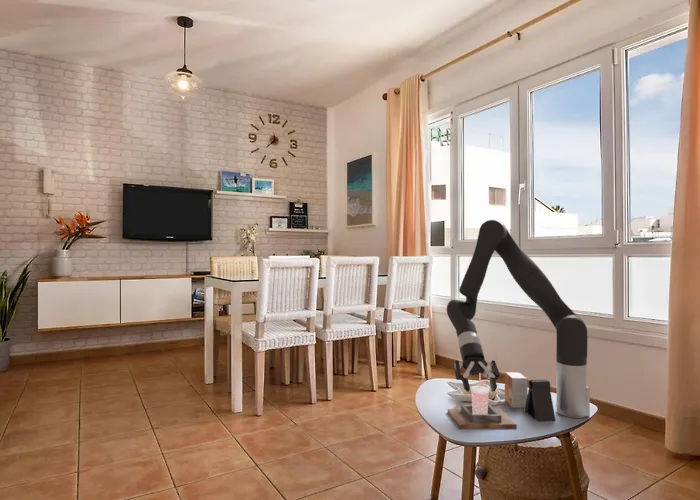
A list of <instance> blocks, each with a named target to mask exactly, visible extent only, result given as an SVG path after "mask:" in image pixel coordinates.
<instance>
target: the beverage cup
mask: <svg viewBox="0 0 700 500" xmlns="http://www.w3.org/2000/svg"><path fill="white" fill-rule="evenodd" d="M481 380H482V374H481V373H479V375H478V385H472V386H470V390H469V391H470V392H471V405H472V412H473V415H487V413H488V405H489V398H490V397H489V394H490V389H491V388H489V387H487V386H484V385H482V383H481V382H482V381H481Z"/></svg>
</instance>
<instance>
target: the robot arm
mask: <svg viewBox="0 0 700 500" xmlns="http://www.w3.org/2000/svg"><path fill="white" fill-rule="evenodd" d="M494 252H496V254H497V255H499V257H500V258H501V259H502V261H503V262H504V264H505V266H506V268H507V269H508V271H509V273H510V275H511V276H512V278H513V280H514V281H515V283H517V285H518V286H519V288H520V289H522V291H523V293H524V294H525V295H527V297H528V298H529V299H530V300H531V301H533V303H535V304H536V305H537V306H538V307H539V308H540V309H541V310H542V311H543V313H544V314H545V315H546V316H547V317H548V319H549V320H550V322H551V324H552V325H553V326H554V328H555V330H556V353H555V357H556V359H555V360H556V361H555V362H556V365H555V366H556V376H555V377H556V379H555V380H556V405H555V406H556V412H557V414H559V415H561V416H565V417H568V418H573V419H581V418H582V419H584V418H586V417H590V415H591V413H590V411H591V410H590V408H591V405H590V402H591V401H590V394H591V393H590V387H589V386H587V385H588V384H587V382H588V379H587V377H588V372H587V370H588V369H587V368H588V367H587V366H588V365H587V364H588V362H587V361H588V360H587V359H588V328H587V326H586V323H585V322H584V321H583V319H582V318H581V317H580V316H579V315H577V314H576V313H575V312H574V311H573V310H572V309H571V308H570V307H569V306H568V305H567V304H566V303H565V301H564V300H563V299H562V298H561V297H560V295H559V293H558V292H557V290H556V289H555V287H554V285H553V284H552V282H551V281H550V280H549V278H548V276H547V275H545V273H544V272H543V271H542V270H541V268H540V267H539V266H538V264H536V263H535V261H534V260H533V259H532V258H531V257H530V256H529V255H528V254H527V253H526V252H525V251H524V250H523V249H522V248H520V246H519V245H518V244H517V243H516V241H515V239H514V238H513V237H512V235H511V233H510V232H509V230H508V229H507V227H506V225H505V224H504V223H503V222H501V221H499V220H496V219H489V220H486V221H484V222H483V223H482V224H481V225H480V227H479V229H478V236H477V240H476V244H475V248H474V252H473V255H472V257H471V260H470V263H469V265H468V267H467V270H466V272H465V274H464V277H463V278H462V282H461V285H460V286H459V293H460V294H461V295H462V296H464V297H465V301H463V300H459V299H451V300H450V301H449V302H448V303H447V306H446V313H447V316H448V318H449V320H450V322H451V324H452V326H453V327H454V329H455V332H456V336H457V343H458V344H457V345H458V348H459V353H460V357H461V360H462V361H459V360H458V359H457V360H455V361H454V365H453V368H454V369H453V370H454V375H455V379H456V380H457V381H459V380H460V381H461V382H462V386H463V390H465V392H468V393H469V392H470V391H471V390H470V387H471V386H470V382H469V379H468V377H469V375H471V376H475V375H477V376H479V373H481V376H483V377H484V378H486V379H488V380H489V384H490V389H491V392H496V391H497V389H498V385H497V380H499V378H500V375H501V374H500V371H499V369H498V365H497V363H496V361H495V360H493V359H492V360H491V361H486V359H485V354H484V352H483V347H482V343H481V340H480V337H479V335H478V332H477V327H476V325H475V323H474V321H472V320H474V317H475V316H476V312H477V303H478V298H479V293H480V290H481V288H482V286H483V284H484V281H485V278H486V275H487V270H488V266H489V263H490V260H491V258H492V256H493V254H494ZM461 368H463V369H464V370H465V371H464V373H463V374H462V373H461Z"/></svg>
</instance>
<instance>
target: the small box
mask: <svg viewBox="0 0 700 500" xmlns="http://www.w3.org/2000/svg"><path fill="white" fill-rule="evenodd" d="M528 390H529V379H528V377H526V376H524V375H523V374H522V373H520V372H512V371H511V372H510V371H509V372H508V371H507V372H506V371H504V401H505V402H506V403H508V404H509V406H510V407H511V408H515V409H516V408H519V409H520V408H521V409H525V405H526V400H527V395H528Z"/></svg>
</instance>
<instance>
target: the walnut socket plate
mask: <svg viewBox="0 0 700 500" xmlns="http://www.w3.org/2000/svg"><path fill="white" fill-rule="evenodd" d="M447 414H448V415H449V417H450V418H451V419H452V421H453V422H454V423H455V425H456V427H458V429H459V430H461V429H462V430H463V429H465V430H466V429H469V430H470V429H471V430H473V429H475V430H477V429H478V430H479V429H480V430H481V429H482V430H483V429H517V428H518V427H517V425H518V424H517V423H516V422H515V421H514V420H513V419H511V418H510V417H509V416H508V415H507V414H506V413H505V412H504V411H503V410H502V409H501V408H494V406H492V405H491V404H488V413H487V415H473V412H472V404H460V408H447Z"/></svg>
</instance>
